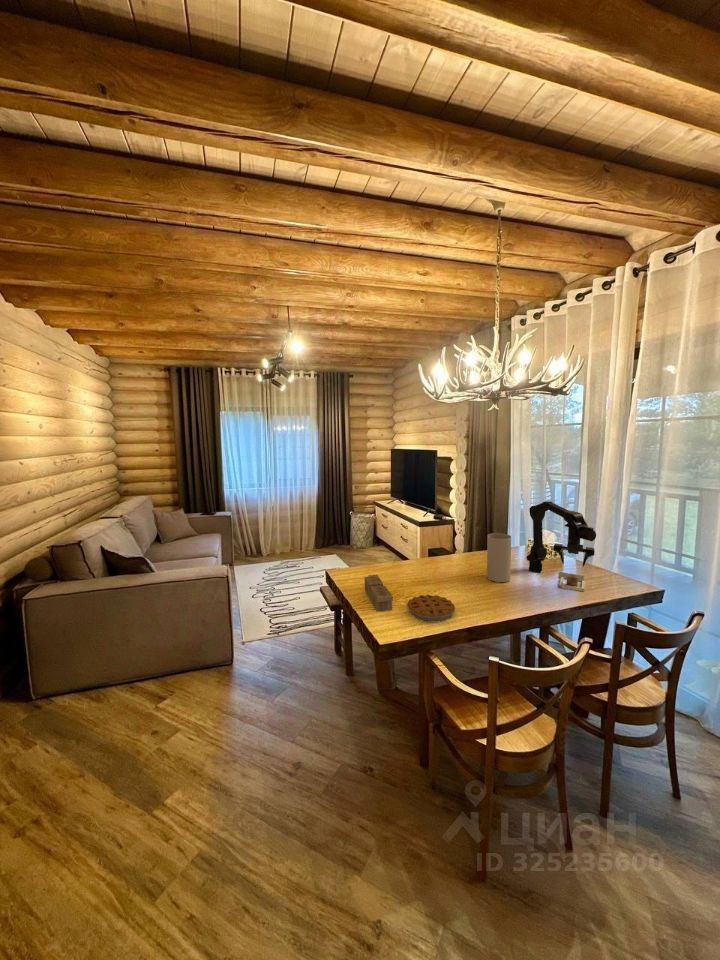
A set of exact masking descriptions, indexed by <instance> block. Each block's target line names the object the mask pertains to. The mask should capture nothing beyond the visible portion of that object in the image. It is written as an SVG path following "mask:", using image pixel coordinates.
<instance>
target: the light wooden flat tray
mask: <svg viewBox="0 0 720 960" xmlns="http://www.w3.org/2000/svg"><path fill="white" fill-rule="evenodd" d="M564 580H565V579H564V577H561V578H560V581H559V584H558V585H559V586H558V587H559V588H563V589H567V590H573V591H579V592H585V588H586V587H585V586H586V580H584V581H582V582H581V587H580V586H577V587H575V586H569V585H566V584H563V583H564Z"/></svg>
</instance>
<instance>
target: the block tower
mask: <svg viewBox="0 0 720 960" xmlns="http://www.w3.org/2000/svg"><path fill="white" fill-rule="evenodd" d="M363 578H364V591H365V592H366V595H367V597H368V598H369V601H370V602H371V604H372V607H374V610H376V612H377V613H378V611H380V612H387V611H393V601H394V596H393V595H392V593H391V592H390V591H389V589H388V588H387V586H386V585H384V582H383V581H382V579H381V577H380V576H379V575H378V574H373V575H372V574H371V575H370V574H369V575H367V576H364V577H363ZM386 610H387V611H386Z"/></svg>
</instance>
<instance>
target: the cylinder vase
mask: <svg viewBox="0 0 720 960" xmlns="http://www.w3.org/2000/svg"><path fill="white" fill-rule="evenodd" d="M486 544H487V546H486V547H487V550H486V552H487V553H486V579H488V580H489V581H491V582H493V581H495V582H494V583H499V582H504V583H508V582H510V580H511V570H512V569H511V566H512V565H511V564H512V558H511V557H512V535H510V534H507V533H501V532H493V533H489V534H487V541H486Z"/></svg>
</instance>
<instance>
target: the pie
mask: <svg viewBox="0 0 720 960" xmlns="http://www.w3.org/2000/svg"><path fill="white" fill-rule="evenodd" d="M406 607H407V609H408V611H410V613H411V615H412V616H413V615H414V616H415V617H414V616H413V617H414V618H415V619H417V618H418V619H417V620H419V619H420V621H421V620H423V621H422V622H427V621H430V622H429V623H432V622H431V621H440V622H442V620H444V621H447V620H449V619H450V617H451V618H452V616H453V614H454V613H455V611H456V607H455V604H454V603H453V602H452V600H450V599H448V598H446V597H443V596H440V595H438V594H436V595H432V594H426V595H423V594H421V595H419V596H413V597H412V599H411V598H410V599H409V600H408V601H407V604H406ZM448 618H449V619H448ZM446 619H447V620H446Z"/></svg>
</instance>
